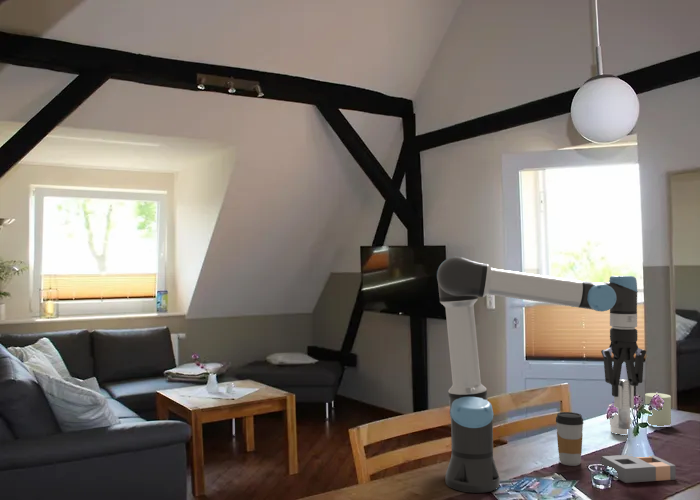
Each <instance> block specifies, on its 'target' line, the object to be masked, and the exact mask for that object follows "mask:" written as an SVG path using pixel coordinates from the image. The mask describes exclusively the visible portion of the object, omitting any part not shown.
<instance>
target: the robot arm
mask: <svg viewBox="0 0 700 500" xmlns="http://www.w3.org/2000/svg"><path fill="white" fill-rule="evenodd" d="M437 268H438V269H437V271H436V279H437V284H438V285H437V286H438V293H439V294H438V295H439V296H438V297H439V303H440V304H441V305H443V307H444V308H445V317H446V327H447V337H448V338H447V339H448V348H449V349H448V350H449V358H450V362H449V363H450V371H451V382H452V385H451V387H449V389H448V404H449V417H450V426H451V428H450V429H451V433H450V436H451V437H450V438H451V457H450V459H449V463H448V465H447V469H446V472H445V485H446V486H447V487H449V488H451V489H453V490H456V491H459V492H464V493H471V494H472V493H473V494H475V493H476V494H478V493H479V494H480V493H489V492H493V491H492V490H494V489H496V488H498V487H499V488H500V486H501V485H500V482H501V480H500V479H501V478H500V474H499V472H498V468H497V465H496V462H495V459H494V434H493V433H494V427H493V426H494V410H493V405H492V402H490V401H488V400H489V399H488V391H487V390H488V389H487V387H486V386H484V384H482V381H481V380H482V379H481V378H482V377H481V371H480V360H479V348H478V338H477V337H478V336H477V327H476V319H475V307H474V305H475V304H476V302H478V300H479V298H485V297H486V296H488V295H491V296H495V297H496V296H497V297H503V298H510V299H512V298H513V299H516V300H525V301H531V302H532V301H533V302H540V303H544V304H545V303H546V304H552V305H560V306H565V307H571V308H578V309H587V310H593V311H596V312H606V311H609V326H610V327H611V328H610V329H609V340H610V344H609V347H608V348H606V349H601V351H600V352H601V355H602V357H603V367H604V380H605V383H608V384H610V385H611V395H612V397H614V398H613V404H614V407H616V408H619V409H622V386H619V382H620V379H621V375H622V367H623V364H624V362H625V369H626V376H627V380H629V381H630V408H632V409H634V408H635V400H634V399H635V398H634V397H636V395H637V386H639V384H641V383H643V377H644V376H643V375H644V363H645V361H644V360H645V357H646V354H647V351H646V349H641V348H639V346H638V343H637V341H638V329H637V327H638V292H639V291H638V282H637V278H636V277H635V276H633V275H611V276H610V277H609V280H608V281H607V282H596V281H594V282H593V281H592V282H591V281H583V280H577V279H571V278H570V279H568V278H563V277H556V276H549V275H542V274H541V275H540V274H536V273H535V274H534V273H526V272H520V271H515V270H514V271H513V270H506V269H500V268H499V269H498V268H493V267H491V266H490V264H488V263H482V262H478V261H473V260H471V259H468V258H466V257H462V256H451V257H448V258H446V259H444V261H442V262H441V264H440V265H439V266H438V267H437ZM612 356H613V357H612ZM499 485H500V486H499ZM499 488H498V489H499ZM496 490H497V489H496ZM494 491H495V490H494Z"/></svg>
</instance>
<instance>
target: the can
mask: <svg viewBox="0 0 700 500" xmlns="http://www.w3.org/2000/svg"><path fill="white" fill-rule="evenodd" d="M656 394H658V395H659V396H660V397H661V398H662V399H664V401H665V402H664V404H663V409H662V410H661V411H657V410H655V409H653V410H652V413H653V415H652V416H648V423H649V424H651V425H657V426H664V425H670V424H671V425H672V396H671V395H670V394H666V393H660V392H648V393H645V394H644V399H645V400H644V401H645V403H644V404H649V403H650V401H651V399H652V398H653V396H654V395H656Z"/></svg>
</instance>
